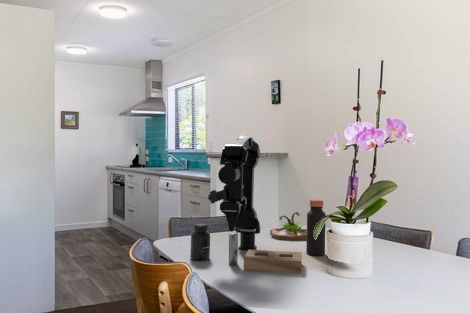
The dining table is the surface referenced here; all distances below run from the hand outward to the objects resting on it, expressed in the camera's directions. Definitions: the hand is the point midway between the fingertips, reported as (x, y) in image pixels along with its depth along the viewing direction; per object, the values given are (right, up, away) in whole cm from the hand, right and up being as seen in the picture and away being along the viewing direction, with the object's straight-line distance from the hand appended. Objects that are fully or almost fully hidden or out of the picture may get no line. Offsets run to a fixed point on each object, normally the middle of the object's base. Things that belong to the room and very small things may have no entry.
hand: (233, 228), depth 148 cm
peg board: (+13, -12, -3) cm, 18 cm away
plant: (+26, -12, +51) cm, 58 cm away
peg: (0, -12, 0) cm, 12 cm away
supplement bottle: (-12, -12, +7) cm, 18 cm away
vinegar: (+30, -12, +16) cm, 37 cm away
